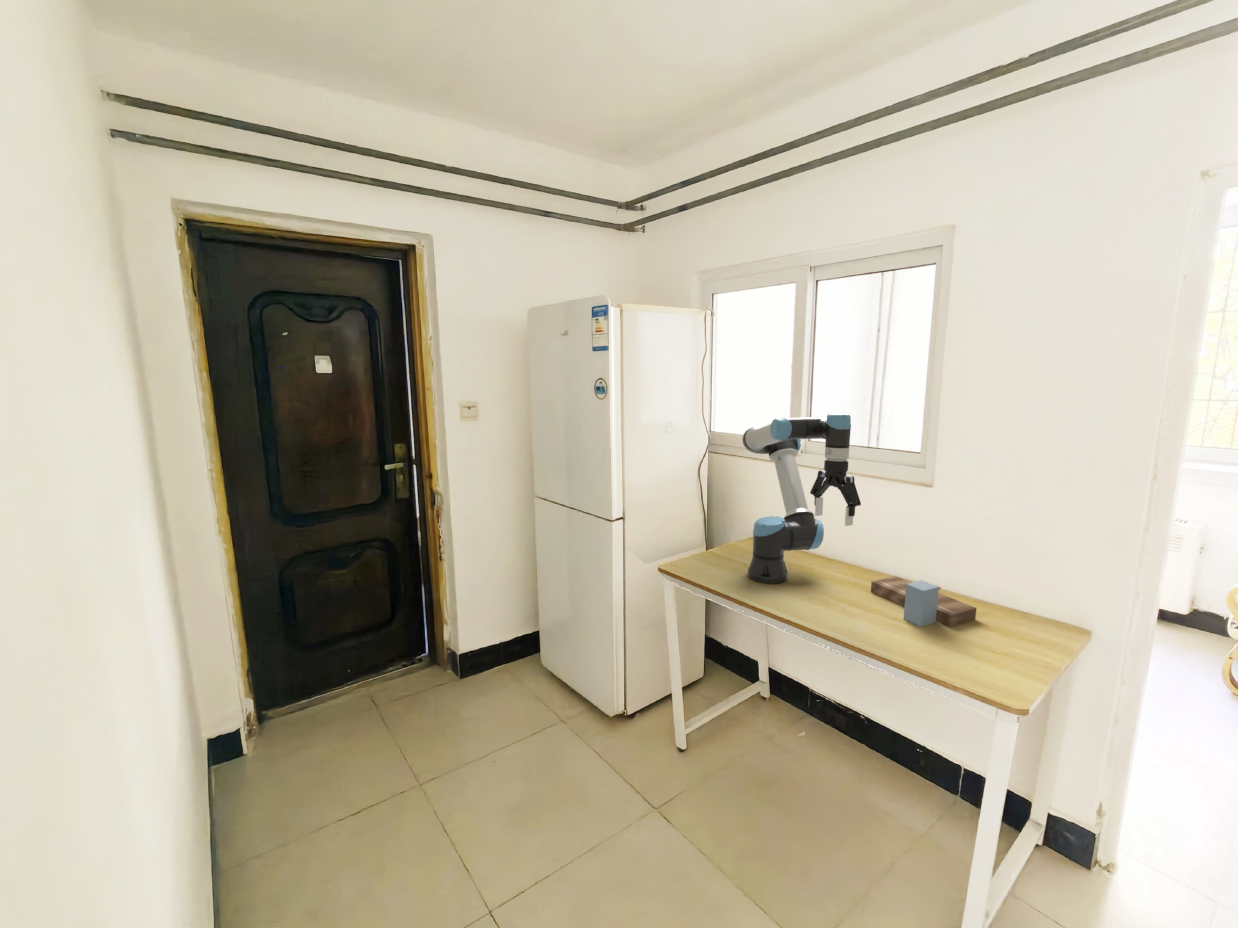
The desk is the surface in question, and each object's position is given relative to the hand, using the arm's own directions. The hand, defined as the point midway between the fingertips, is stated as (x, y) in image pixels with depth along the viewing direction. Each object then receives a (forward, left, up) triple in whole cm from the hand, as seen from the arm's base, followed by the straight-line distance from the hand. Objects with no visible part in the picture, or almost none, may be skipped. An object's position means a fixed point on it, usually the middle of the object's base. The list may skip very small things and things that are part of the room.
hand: (833, 520), depth 183 cm
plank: (+17, +24, -29) cm, 41 cm away
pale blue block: (+25, +15, -29) cm, 41 cm away
